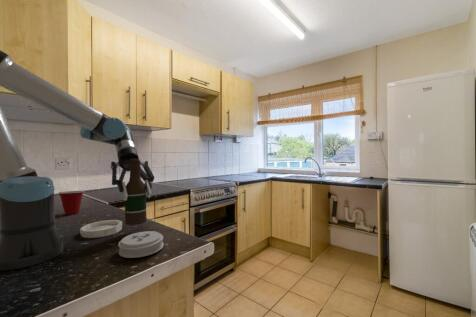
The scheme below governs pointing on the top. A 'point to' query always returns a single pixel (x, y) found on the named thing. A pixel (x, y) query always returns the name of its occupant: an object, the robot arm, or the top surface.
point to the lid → (140, 244)
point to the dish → (101, 229)
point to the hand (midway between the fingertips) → (138, 196)
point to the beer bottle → (135, 196)
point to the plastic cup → (71, 201)
